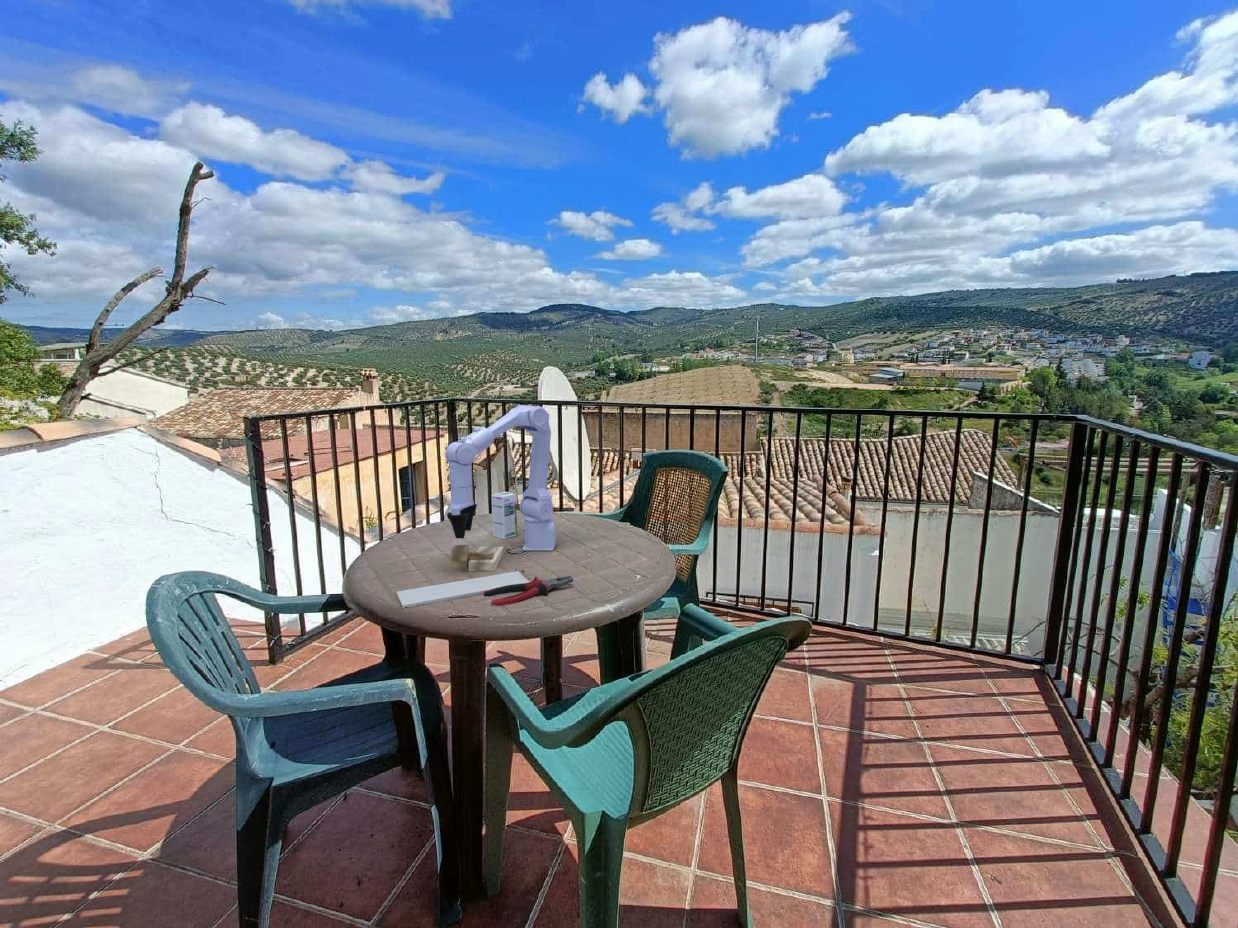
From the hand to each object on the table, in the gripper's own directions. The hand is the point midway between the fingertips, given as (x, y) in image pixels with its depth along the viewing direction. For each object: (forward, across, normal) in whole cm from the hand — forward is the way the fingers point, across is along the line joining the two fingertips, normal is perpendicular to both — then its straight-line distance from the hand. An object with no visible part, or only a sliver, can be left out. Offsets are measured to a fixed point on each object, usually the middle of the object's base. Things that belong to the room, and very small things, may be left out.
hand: (463, 534), depth 159 cm
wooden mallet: (+9, +1, +3) cm, 10 cm away
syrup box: (+10, -30, +6) cm, 32 cm away
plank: (+9, -3, +6) cm, 11 cm away
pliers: (+10, +19, +21) cm, 30 cm away
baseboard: (+10, +16, +4) cm, 20 cm away
